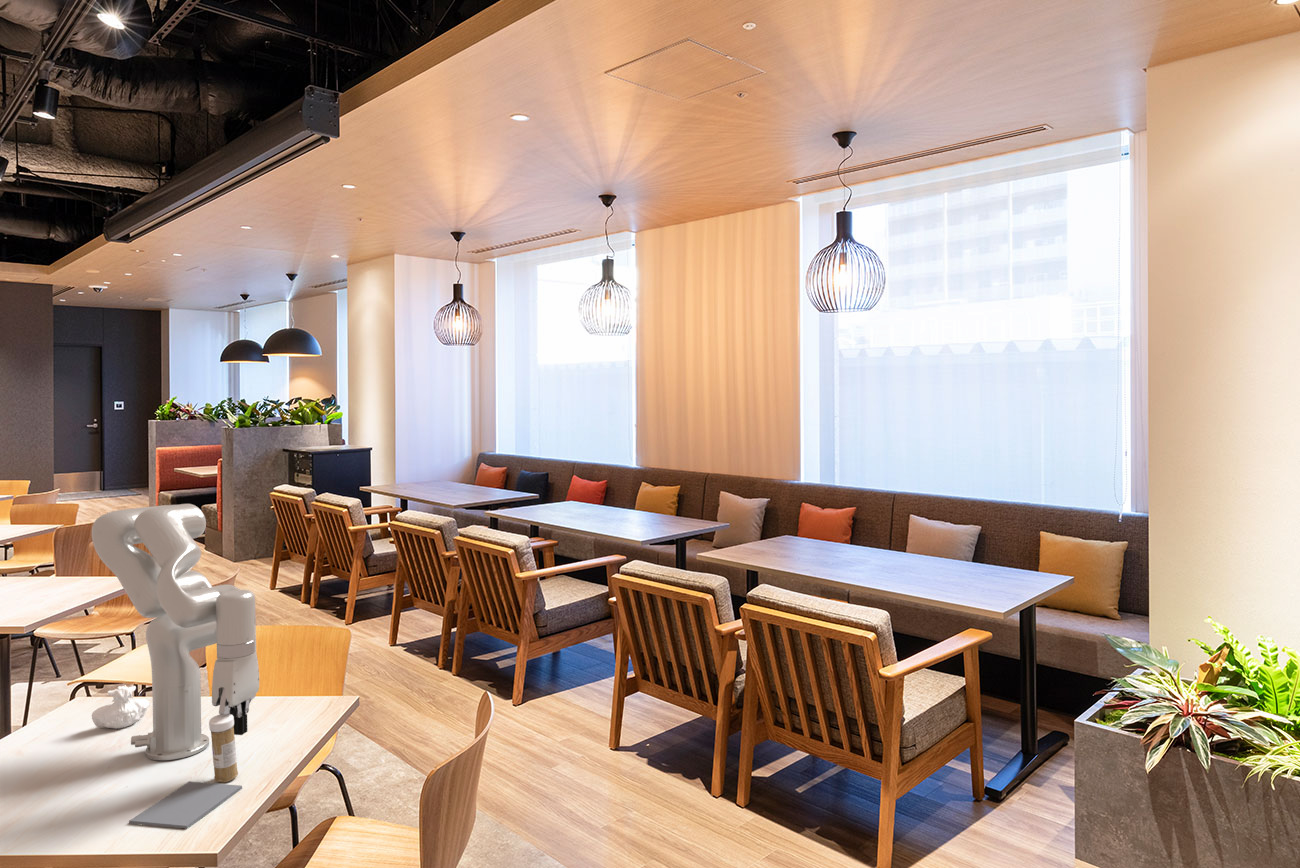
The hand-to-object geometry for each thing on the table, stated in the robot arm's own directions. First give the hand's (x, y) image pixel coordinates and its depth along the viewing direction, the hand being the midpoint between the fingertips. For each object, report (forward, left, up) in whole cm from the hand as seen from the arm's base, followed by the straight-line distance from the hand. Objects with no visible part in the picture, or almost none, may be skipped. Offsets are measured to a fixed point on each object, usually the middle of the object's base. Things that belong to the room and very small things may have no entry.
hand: (238, 733), depth 174 cm
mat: (-8, -13, -8) cm, 17 cm away
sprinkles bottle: (-2, -3, -8) cm, 9 cm away
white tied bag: (-29, +37, -9) cm, 48 cm away
